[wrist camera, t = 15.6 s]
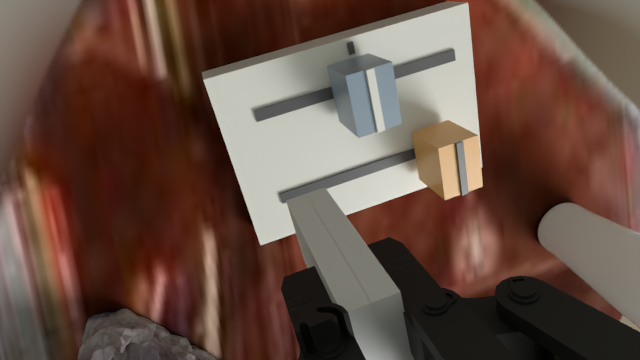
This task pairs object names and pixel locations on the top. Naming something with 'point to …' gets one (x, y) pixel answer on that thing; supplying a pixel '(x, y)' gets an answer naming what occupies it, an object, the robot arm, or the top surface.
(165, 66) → the top surface
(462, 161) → the orange fader
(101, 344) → the geode
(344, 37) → the fader console
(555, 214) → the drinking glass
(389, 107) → the slate fader
